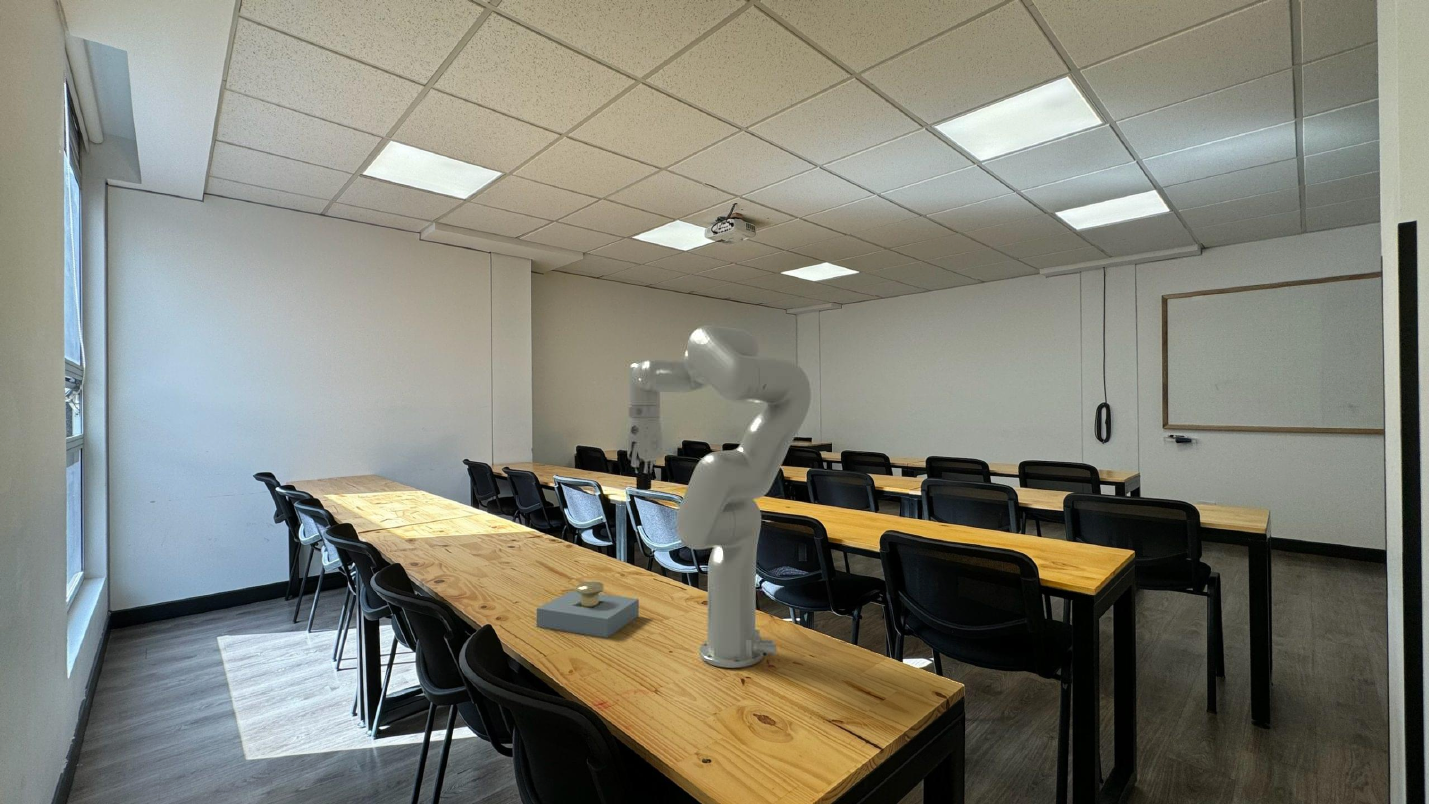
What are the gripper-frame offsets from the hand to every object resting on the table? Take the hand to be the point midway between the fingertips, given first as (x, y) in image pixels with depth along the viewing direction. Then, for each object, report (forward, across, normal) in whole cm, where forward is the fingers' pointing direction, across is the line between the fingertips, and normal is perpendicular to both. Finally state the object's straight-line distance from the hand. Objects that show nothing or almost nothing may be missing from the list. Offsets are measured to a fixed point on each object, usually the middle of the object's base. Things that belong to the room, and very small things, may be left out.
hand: (643, 489), depth 139 cm
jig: (+29, -11, +8) cm, 32 cm away
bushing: (+29, -11, +8) cm, 32 cm away
